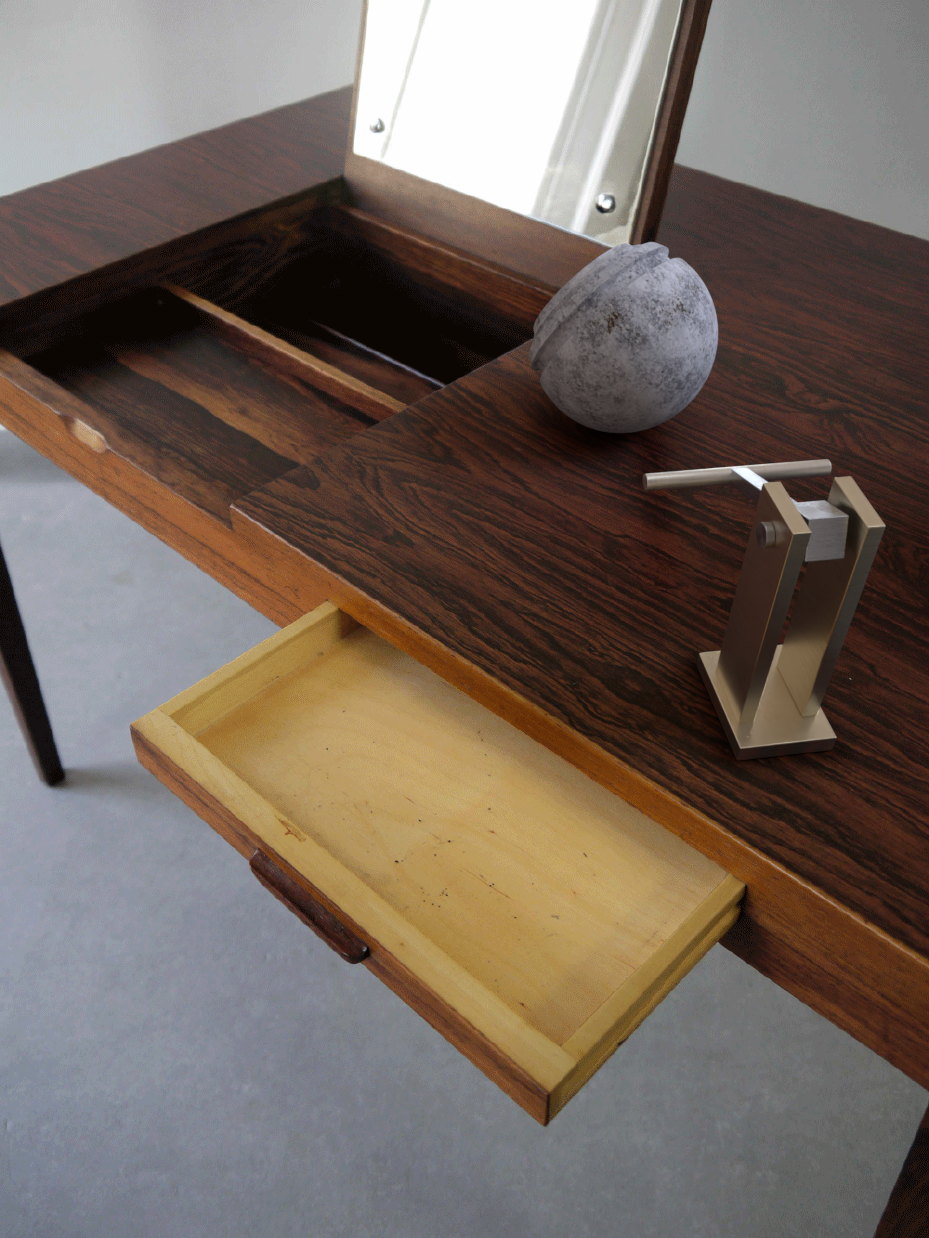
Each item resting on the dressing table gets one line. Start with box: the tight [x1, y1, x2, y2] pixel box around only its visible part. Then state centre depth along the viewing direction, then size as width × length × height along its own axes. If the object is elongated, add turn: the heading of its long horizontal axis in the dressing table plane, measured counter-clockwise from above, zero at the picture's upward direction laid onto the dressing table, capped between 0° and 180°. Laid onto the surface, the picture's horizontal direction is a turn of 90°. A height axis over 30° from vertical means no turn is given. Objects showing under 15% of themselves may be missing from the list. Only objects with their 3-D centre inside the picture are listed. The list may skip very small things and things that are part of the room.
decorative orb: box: [528, 241, 719, 434], centre depth 84 cm, size 15×14×15 cm
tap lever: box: [642, 458, 849, 563], centre depth 61 cm, size 13×12×2 cm
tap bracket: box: [695, 475, 886, 762], centre depth 60 cm, size 8×6×16 cm
